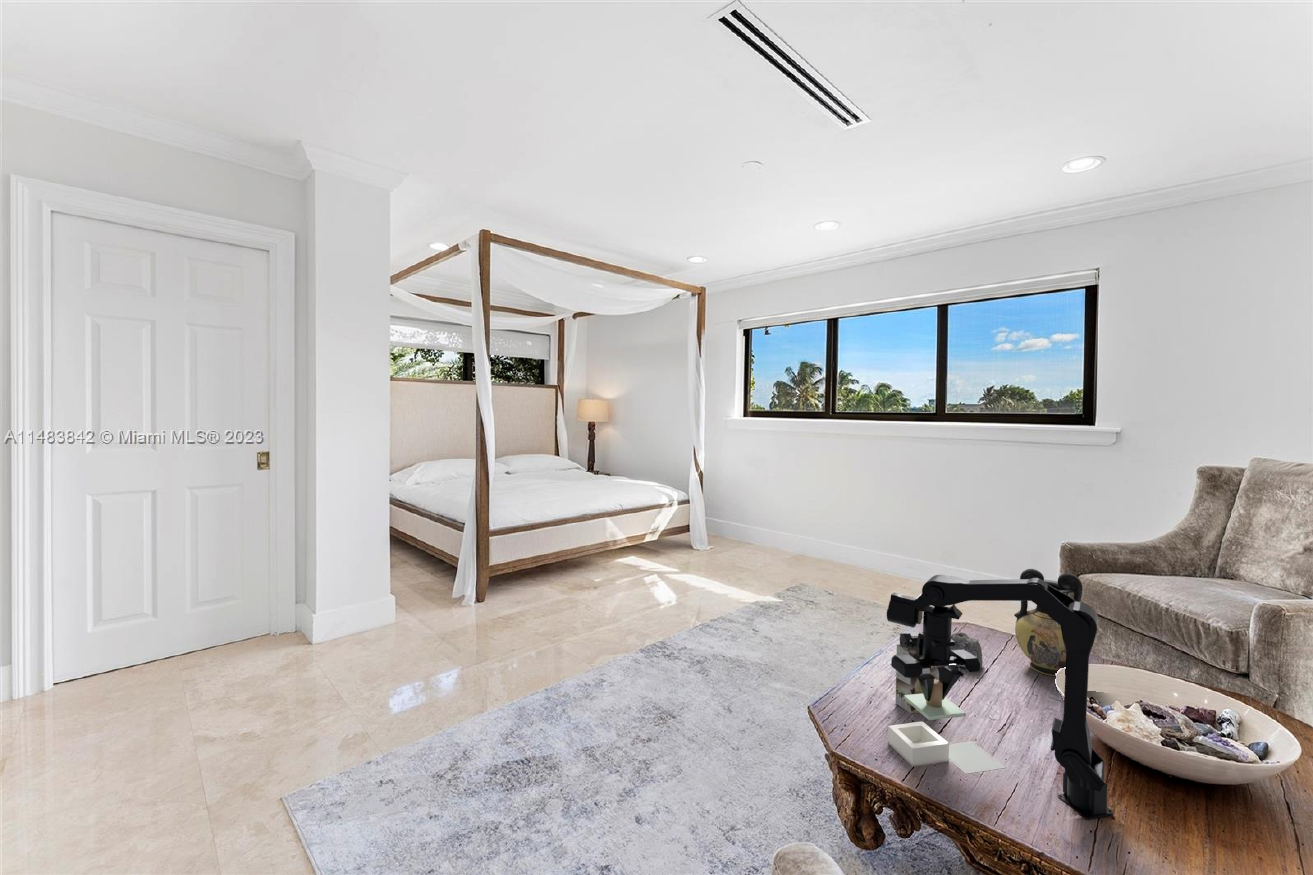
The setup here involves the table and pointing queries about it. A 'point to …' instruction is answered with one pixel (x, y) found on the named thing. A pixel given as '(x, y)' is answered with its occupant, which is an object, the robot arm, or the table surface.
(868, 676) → the table surface
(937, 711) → the lid
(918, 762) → the white open tray
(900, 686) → the coffee box
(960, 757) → the mat
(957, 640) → the mineral rock
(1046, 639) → the amphora
